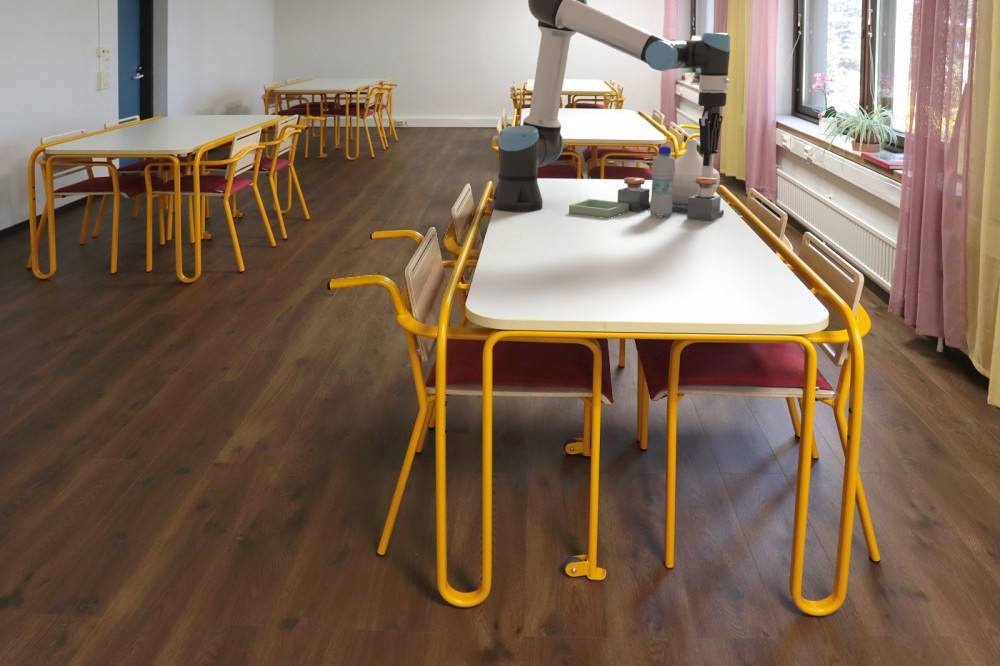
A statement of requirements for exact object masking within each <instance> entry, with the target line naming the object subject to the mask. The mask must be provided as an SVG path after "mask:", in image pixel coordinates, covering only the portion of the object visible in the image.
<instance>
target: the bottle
mask: <svg viewBox="0 0 1000 666" xmlns="http://www.w3.org/2000/svg"><path fill="white" fill-rule="evenodd" d="M671 151H672V149H671V147H669V146H668V145H667V146H665V145H662V146H660V147H659V148H658V155H656V156H655V157H653V160H652V161H653V162H652V166H651V175H652V178H651V179H652V181H651V195H650V202H651V203H650V209H649V212H650V215H651V216H652V217H653V218H656V217H657V216H658V218H659V219H660V218H662V217H664V218H665V219H666V218H668V217H670V216H671V215H672V213H673V212H672V205H673V203H672V193H673V177H674V175H675V160H676V159H675V157H673V156H672V155H671V153H672V152H671Z"/></svg>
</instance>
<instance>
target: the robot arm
mask: <svg viewBox="0 0 1000 666" xmlns="http://www.w3.org/2000/svg"><path fill="white" fill-rule="evenodd" d="M527 4H528V8H529V11H530V14H531V15H532V16H533V17H534V18H535V19H536V20H537V28H538V29H539V31H540V33H541V36H540V44H539V47H538V48H539V49H538V50H539V51H538V56H537V63H536V69H535V75H534V81H533V87H532V88H533V89H532V96H531V100H530V101H531V102H530V108H529V109H530V110H529V114H528V115H527V116H525V117H524V118H523V120H522V121H523V122H522V125H513V126H512V125H511V126H506V127H504V128H502V129H501V130H500V131H499V134H498V140H497V148H498V150H497V151H498V152H497V153H498V155H497V159H498V160H497V161H498V163H497V169H498V170H497V180H498V181H497V184H496V186H495V189H494V193H493V196H492V199H491V208H493V209H495V210H499V211H507V212H533V211H538V210H541V209H543V206H544V205H543V204H544V203H543V202H544V201H543V197H542V194H541V191H540V187H539V183H538V168H541V167H547V166H549V165H551V164H553V163H554V162H556V161H557V160H558V159H559V157H561V155H562V153H563V151H564V138H563V136H562V134H561V131H562V130H561V129H562V124H561V122H560V121H559V118H558V116H559V110H560V105H561V99H562V92H563V86H564V80H565V74H566V69H567V68H566V67H567V62H568V61H567V60H568V54H569V49H570V42H571V38H572V37H573V36H574V35H575V34H576V33H578V34H580V35H583V36H584V37H586V38H590V39H592V40H594V41H597V42H598V43H602V44H603V45H605V46H607V47H610V48H612V49H614V50H616V51H619V52H621V53H624V54H626V55H627V56H629V57H632V58H635V59H637V60H640V61H641V62H643V63H645V64H647V65H648V66H649V67H650V68H651V69H653V70H655V71H660V72H665V71H668V70H676V69H677V70H678V69H695V70H696V69H699V71H700V73H699V84H698V89H699V90H700V92H699V93H698V99H697V100H698V103H697V104H698V106H700V107H703V111H702V115H701V118H699V119H698V124H699V125H698V126H699V155H702V158H703V163H702V177H706V178H712V177H713V168H714V163H715V162H714V160H715V155H717V154H718V148H719V141H720V134H721V127H722V124H723V119H724V115H721V109H720V108H722V107H725V106H726V105H727V92H726V91H727V90H728V89H727V88H728V84H729V83H730V79H728V78H729V66H730V53H731V37H730V35H729V33H726V32H705V33H703V34H702V38H701V39H697V40H690V39H684V40H683V39H682V40H681V39H667V38H664V37H662V36H659V35H656V34H654V33H652V32H649V31H648V30H645V29H643V28H640V27H639V26H636V25H633V24H631V23H629V22H627V21H624V20H622V19H620V18H618V17H615V16H613V15H610V14H608V13H606V12H604V11H601V10H600V9H598V8H595V7H592V6H590V5H588V1H587V0H527Z"/></svg>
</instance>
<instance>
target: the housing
mask: <svg viewBox="0 0 1000 666" xmlns="http://www.w3.org/2000/svg"><path fill="white" fill-rule="evenodd" d="M650 192H651V191H650V188H644V187H641V191H629V190H627V186H626V187H623V188H620V189H618V190H617V202H622V203H629V212H630V213H642V212H644V211H647V210H650V203H651V201H650ZM721 198H722V197H721V196H720V195H713V196H712V199H704V198H698V194H696V195H694V196H691V197H689V199H688V205H680V204H672V213H677V214H679V213H681V214H686V215H687V216H686V219H689V220H698V221H705V222H707V221H708V222H711V221H714V220H716V219H718V217H719V218H721V217H723V216H724V209H723V210H722V209H721ZM722 215H723V216H722ZM720 216H721V217H720Z"/></svg>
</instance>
